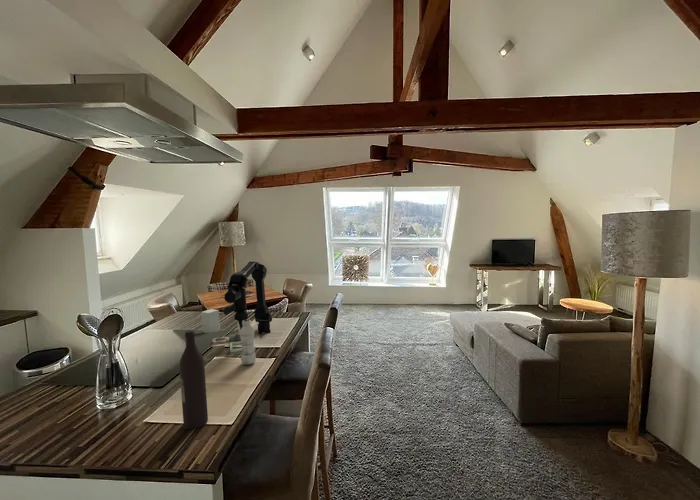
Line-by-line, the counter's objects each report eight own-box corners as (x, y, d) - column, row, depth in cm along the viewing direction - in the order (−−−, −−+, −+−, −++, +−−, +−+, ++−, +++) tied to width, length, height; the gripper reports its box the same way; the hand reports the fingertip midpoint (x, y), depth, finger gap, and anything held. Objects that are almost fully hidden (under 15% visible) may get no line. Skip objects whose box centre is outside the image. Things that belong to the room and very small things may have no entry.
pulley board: (247, 337, 192) (246, 329, 192) (248, 344, 180) (247, 336, 179) (213, 341, 186) (212, 333, 186) (211, 349, 174) (211, 341, 174)
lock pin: (245, 331, 175) (244, 316, 174) (246, 333, 171) (245, 318, 170) (237, 332, 173) (236, 317, 173) (237, 334, 170) (236, 319, 169)
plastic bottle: (238, 366, 152) (235, 322, 150) (246, 360, 158) (244, 318, 157) (251, 367, 150) (248, 323, 149) (258, 361, 157) (256, 318, 155)
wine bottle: (196, 415, 113) (190, 327, 110) (212, 419, 110) (207, 329, 108) (178, 427, 106) (171, 333, 104) (195, 432, 103) (189, 336, 101)
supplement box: (220, 330, 206) (219, 310, 205) (209, 334, 200) (208, 313, 199) (212, 328, 210) (211, 308, 209) (202, 332, 204) (200, 311, 203)
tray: (254, 344, 180) (254, 339, 180) (255, 351, 169) (255, 346, 169) (230, 347, 176) (230, 342, 176) (230, 355, 165) (229, 350, 165)
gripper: (223, 296, 177) (225, 325, 178) (222, 304, 159) (224, 336, 161) (245, 294, 181) (247, 323, 182) (247, 301, 163) (248, 333, 164)
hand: (241, 328), depth 172 cm, fingers closed on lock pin, 4 cm apart
